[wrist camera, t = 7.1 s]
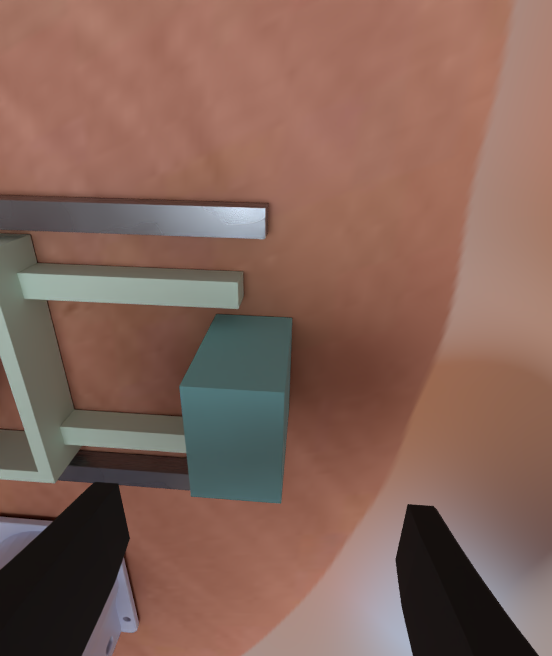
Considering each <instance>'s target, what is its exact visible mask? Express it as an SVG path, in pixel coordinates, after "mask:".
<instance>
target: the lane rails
mask: <svg viewBox="0 0 552 656" xmlns="http://www.w3.org/2000/svg"><path fill="white" fill-rule="evenodd" d="M0 229H1V230H28V231H56V232H84V233H111V234H139V235H167V236H194V237H222V238H249V239H265V238H266V236H267V234H268V203H250V202H217V201H184V200H152V199H119V198H86V197H53V196H20V195H0ZM58 480H61V481H74V482H87V483H94V482H105V483H118V485H126V486H139V487H152V488H165V489H178V490H190V482H189V473H188V463H187V458H176V457H162V456H148V455H134V454H120V453H106V452H92V451H78V452H77V454H76V455H75V456H74V458H73V459H72V461H71V462H70V463H69V465H68V466H67V467H66V469H65V470H64V472H63V473H62V474H61V476H60V477H59V479H58Z"/></svg>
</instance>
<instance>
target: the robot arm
mask: <svg viewBox="0 0 552 656" xmlns="http://www.w3.org/2000/svg"><path fill="white" fill-rule="evenodd" d="M129 539H130V537H129V532H128V527H127V523H126V518H125V513H124V509H123V504H122V499H121V494H120V490H119V485H118V483H105V482H94V483H93V484H92V485H91V486H90V487H89V488H87V489H86V490H85V491H84V492H83V493H82V494H81V495H80V496H79V497H78V498H77V499H76V500H75V501H74V502H73V503H72V504H71V505H70V506H69V507H67V508H66V509H65V510H64V511H63V512H62V513H61V514H60V515H59V516H58V517H57V518H56V519H55V520H54V521H47V520H35V519H23V518H11V517H0V656H112V654H113V652H114V649H115V647H116V644H117V641H118V639H119V636H120V633H121V632H130V633H133V632H135V631H137V629H138V626H139V621H138V617H137V612H136V608H135V604H134V599H133V595H132V591H131V586H130V582H129V578H128V573H127V569H126V565H125V560H124V555H125V551H126V548H127V545H128V542H129ZM396 567H397V575H398V583H399V590H400V598H401V604H402V610H403V614H404V618H405V623H406V627H407V632H408V636H409V641H410V645H411V649H412V653H413V656H539V655H538V654H537V653H536V652H535V650H534V649H533V648H532V646H531V645H530V644H529V643H528V641H527V640H526V638H525V637H524V636H523V635H522V634H521V632H520V631H519V629H518V628H517V627H516V625H515V624H514V623H513V621H512V620H511V619H510V617H509V616H508V615H507V613H506V612H505V611H504V609H503V608H502V607H501V605H500V604H499V602H498V601H497V599H496V598H495V597H494V595H493V594H492V592H491V591H490V590H489V588H488V587H487V585H486V584H485V583H484V581H483V580H482V578H481V577H480V575H479V574H478V572H477V571H476V569H475V568H474V567H473V565H472V564H471V562H470V561H469V559H468V558H467V556H466V555H465V553H464V552H463V550H462V549H461V547H460V545H459V544H458V542H457V541H456V539H455V538H454V536H453V535H452V533H451V531H450V530H449V528H448V527H447V525H446V523H445V522H444V520H443V519H442V517H441V515H440V514H439V512H438V511H437V509H436V508H435V507H434V506H424V505H411V504H410V505H409V504H408V505H407V510H406V514H405V519H404V524H403V528H402V533H401V537H400V542H399V546H398V551H397V556H396Z"/></svg>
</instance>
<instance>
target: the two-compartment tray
mask: <svg viewBox="0 0 552 656" xmlns="http://www.w3.org/2000/svg"><path fill="white" fill-rule="evenodd" d="M243 297H244V291H243V271H219V270H195V269H170V268H146V267H122V266H98V265H74V264H50V263H37V260H36V256H35V252H34V248H33V244H32V240H31V236H30V234H3V233H0V357H1V360H2V363H3V366H4V369H5V372H6V375H7V378H8V381H9V384H10V387H11V390H12V393H13V396H14V399H15V402H16V405H17V408H18V412H19V415H20V418H21V421H22V424H23V427H24V430H25V431H16V430H1V429H0V479H5V480H18V481H31V482H44V483H56V481H57V480H58V479H59V477H60V476H61V474H62V473H63V472H64V470H65V469H66V467H67V466H68V465H69V463H70V462H71V461H72V459H73V458H74V456H75V455H76V454H77V452H78V451H79V449H80V448H81V447H82V446H94V447H108V448H122V449H136V450H150V451H164V452H178V453H186V454H187V463H188V473H189V482H190V491H191V497H204V498H216V499H229V500H242V501H255V502H268V503H281V499H282V487H283V475H284V463H285V451H286V439H287V427H288V415H289V395H290V368H291V342H292V318H286V317H266V316H245V315H224V314H216V316H215V318H214V320H213V322H212V323H211V325H210V327H209V329H208V331H207V333H206V335H205V337H204V339H203V341H202V343H201V345H200V347H199V349H198V351H197V353H196V355H195V357H194V359H193V361H192V362H191V364H190V366H189V368H188V370H187V372H186V374H185V376H184V378H183V380H182V382H181V384H180V386H179V388H180V398H181V407H182V416H183V417H179V416H164V415H149V414H133V413H118V412H103V411H87V410H74V407H73V403H72V399H71V395H70V391H69V387H68V383H67V379H66V375H65V371H64V367H63V363H62V359H61V355H60V351H59V347H58V343H57V339H56V336H55V332H54V328H53V324H52V320H51V316H50V312H49V308H48V304H47V300H60V301H81V302H102V303H123V304H144V305H165V306H186V307H207V308H229V309H239V307H240V304H241V302H242V299H243Z"/></svg>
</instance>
